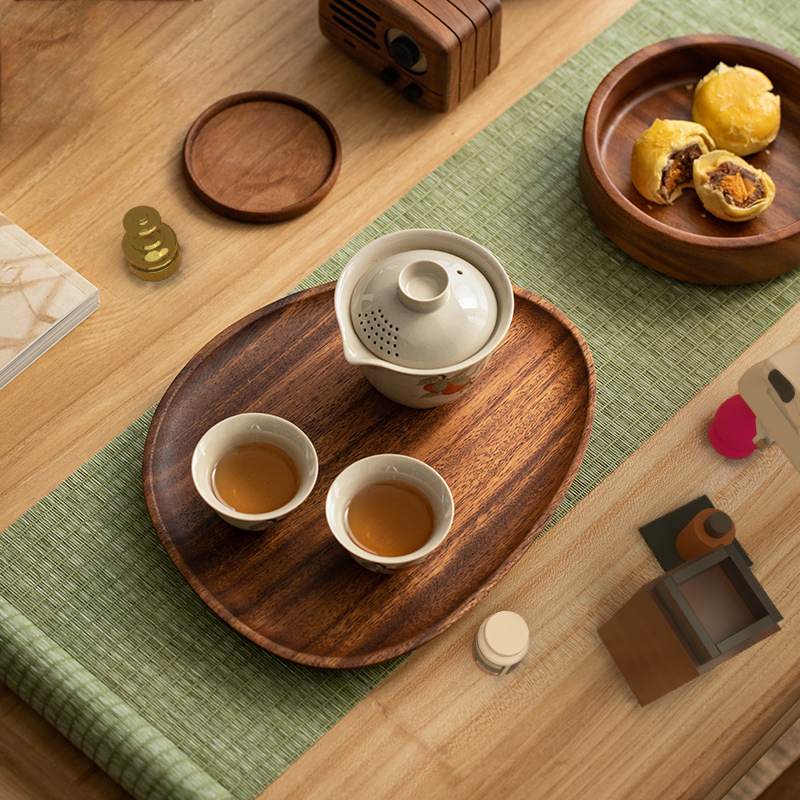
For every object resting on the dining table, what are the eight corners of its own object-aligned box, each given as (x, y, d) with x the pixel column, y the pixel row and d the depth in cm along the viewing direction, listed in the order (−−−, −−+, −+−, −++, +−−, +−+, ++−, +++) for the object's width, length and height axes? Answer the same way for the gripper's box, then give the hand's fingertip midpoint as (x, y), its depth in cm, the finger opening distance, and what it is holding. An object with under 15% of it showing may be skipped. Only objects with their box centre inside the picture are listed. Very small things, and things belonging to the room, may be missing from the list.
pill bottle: (512, 621, 108) (525, 600, 99) (527, 670, 105) (541, 652, 96) (465, 633, 107) (474, 612, 98) (478, 682, 104) (489, 665, 95)
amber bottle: (699, 521, 113) (725, 495, 105) (722, 555, 111) (750, 531, 103) (667, 537, 112) (691, 512, 104) (690, 572, 110) (716, 549, 102)
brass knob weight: (159, 229, 131) (145, 183, 122) (193, 261, 128) (180, 216, 120) (117, 259, 128) (99, 213, 119) (150, 291, 126) (134, 248, 117)
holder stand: (664, 594, 110) (733, 533, 89) (711, 668, 106) (795, 622, 85) (596, 630, 107) (651, 576, 87) (642, 707, 104) (710, 669, 83)
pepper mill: (770, 435, 120) (842, 361, 102) (741, 474, 117) (809, 404, 99) (723, 402, 122) (785, 322, 104) (693, 439, 119) (752, 364, 101)
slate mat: (704, 495, 116) (705, 494, 115) (752, 565, 112) (753, 563, 111) (637, 529, 113) (639, 527, 113) (684, 601, 109) (686, 600, 109)
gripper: (971, 512, 74) (886, 562, 86) (812, 317, 82) (755, 388, 94) (910, 546, 73) (833, 592, 85) (754, 344, 81) (705, 413, 93)
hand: (791, 483), depth 90 cm, fingers open, 8 cm apart
